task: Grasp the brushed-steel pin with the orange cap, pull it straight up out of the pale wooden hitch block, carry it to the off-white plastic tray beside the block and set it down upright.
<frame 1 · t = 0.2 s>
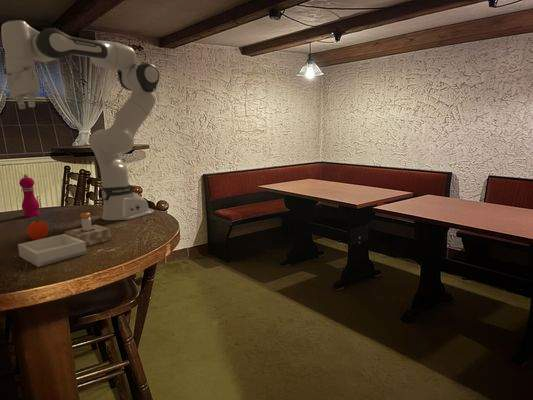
hand: (27, 108, 139), 47 cm above the table, fingers open, 8 cm apart
clementine: (38, 240, 139), on the table
hitch block: (88, 241, 134), on the table
tray: (53, 255, 120), on the table
pepper mill: (32, 216, 182), on the table
pin: (87, 227, 133), in the hitch block
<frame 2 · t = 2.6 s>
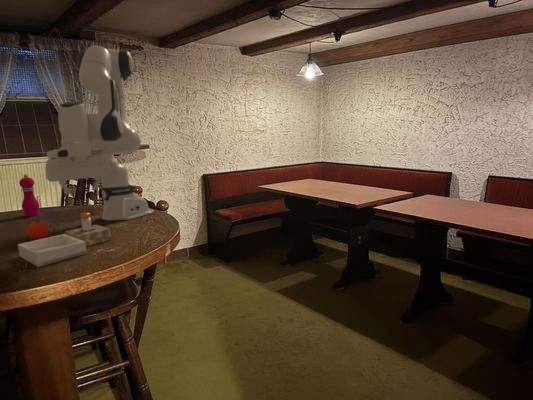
hand: (82, 191, 130), 18 cm above the table, fingers open, 8 cm apart
nothing on the table moved.
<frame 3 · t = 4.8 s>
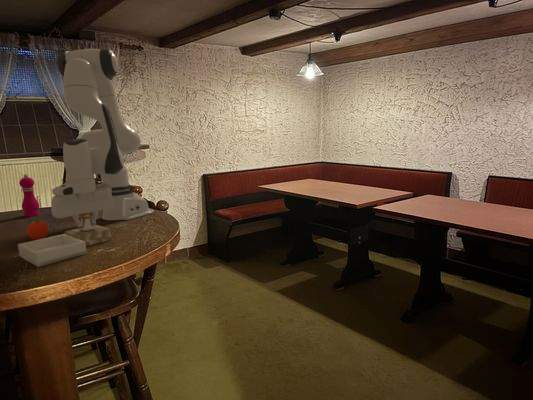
hand: (86, 225, 133), 6 cm above the table, fingers closed on pin, 3 cm apart
pin: (87, 227, 133), in the hitch block, touching gripper
everything else where it was.
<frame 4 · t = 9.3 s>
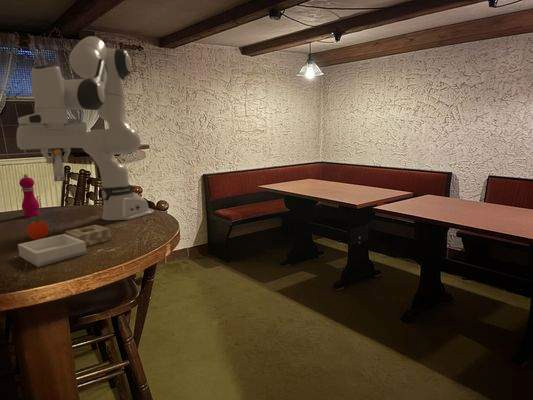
hand: (57, 163, 120), 28 cm above the table, fingers closed on pin, 3 cm apart
pin: (57, 164, 120), point 28 cm above the table, touching gripper
everything else where it was.
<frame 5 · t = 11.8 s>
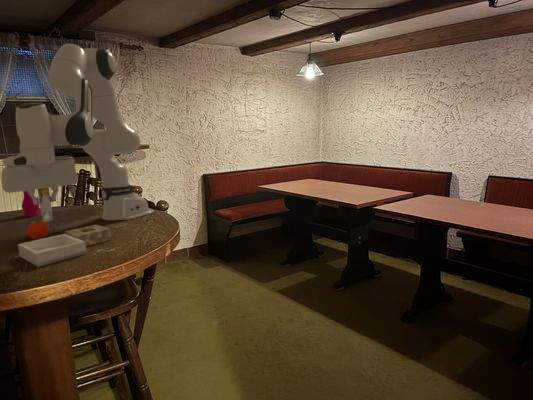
hand: (45, 202, 117), 17 cm above the table, fingers closed on pin, 3 cm apart
pin: (45, 204, 117), point 16 cm above the table, touching gripper
everything else where it was.
when the fingers open (8 cm above the table, at t = 14.1 s): pin drops 1 cm, resting on tray.
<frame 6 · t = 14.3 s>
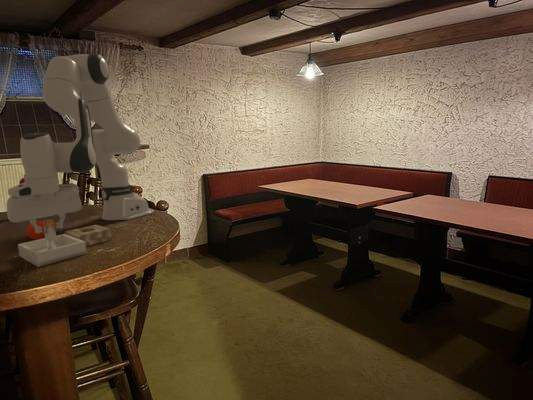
hand: (49, 230, 118), 8 cm above the table, fingers open, 5 cm apart
pin: (50, 236, 119), in the tray, point 6 cm above the table
everything else where it was.
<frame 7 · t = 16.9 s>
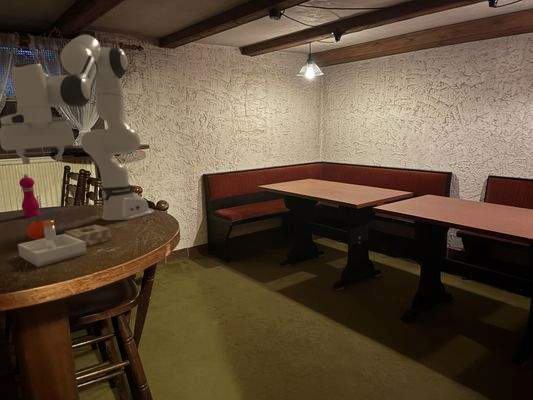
hand: (43, 162, 119), 29 cm above the table, fingers open, 8 cm apart
nothing on the table moved.
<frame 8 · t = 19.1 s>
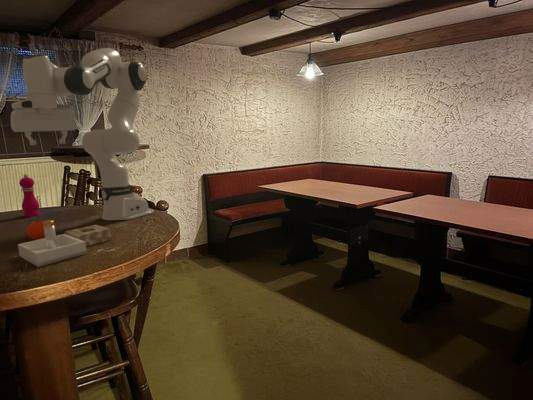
hand: (48, 144, 133), 34 cm above the table, fingers open, 8 cm apart
nothing on the table moved.
at the end: pin inside the target area on the tray (0.1 cm from its centre), point 6.0 cm above the tray's base; the gripper is holding nothing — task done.
